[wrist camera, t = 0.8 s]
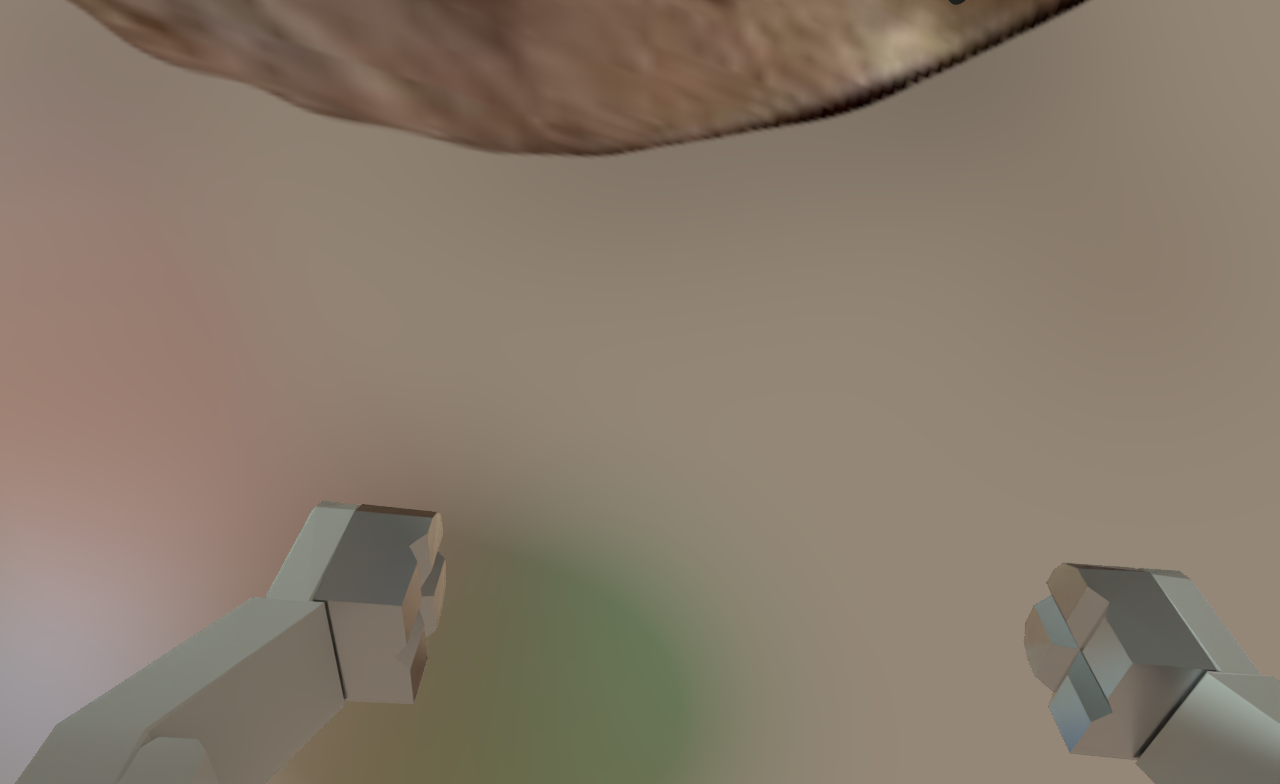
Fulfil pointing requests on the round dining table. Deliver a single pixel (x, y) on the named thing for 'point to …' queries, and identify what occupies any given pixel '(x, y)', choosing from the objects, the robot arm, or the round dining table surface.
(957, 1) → the vintage mobile phone
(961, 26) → the round dining table surface
